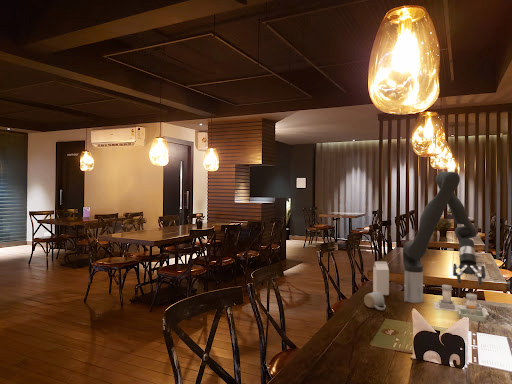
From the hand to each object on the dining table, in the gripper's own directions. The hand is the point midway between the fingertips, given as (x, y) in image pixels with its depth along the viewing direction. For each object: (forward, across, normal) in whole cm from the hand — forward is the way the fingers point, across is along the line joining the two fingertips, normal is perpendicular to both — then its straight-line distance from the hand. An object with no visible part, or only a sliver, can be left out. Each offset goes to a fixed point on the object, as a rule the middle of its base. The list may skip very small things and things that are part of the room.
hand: (469, 283), depth 187 cm
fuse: (+8, -10, +12) cm, 17 cm away
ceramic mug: (+17, -44, +4) cm, 47 cm away
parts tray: (+17, 0, +4) cm, 17 cm away
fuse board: (+8, -4, +13) cm, 16 cm away
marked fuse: (+16, 0, +4) cm, 17 cm away
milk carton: (-2, -44, +24) cm, 50 cm away
